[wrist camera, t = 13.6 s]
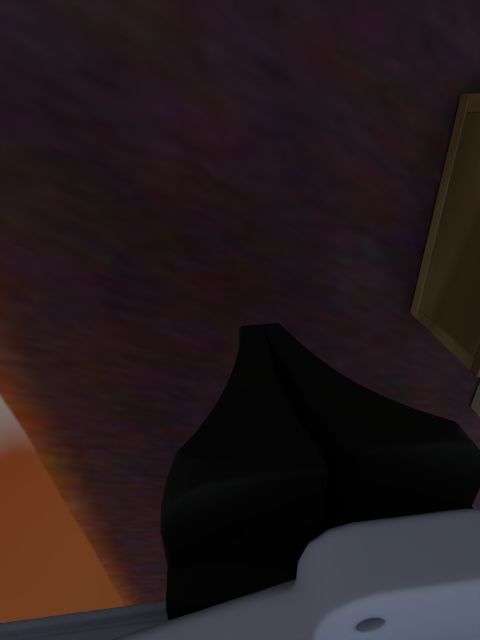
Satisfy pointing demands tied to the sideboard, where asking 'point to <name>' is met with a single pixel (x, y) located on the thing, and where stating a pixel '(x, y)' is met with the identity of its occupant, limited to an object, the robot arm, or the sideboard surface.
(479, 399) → the switch block
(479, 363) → the tea box lid
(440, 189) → the tea box
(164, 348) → the sideboard surface
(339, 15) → the sideboard surface
